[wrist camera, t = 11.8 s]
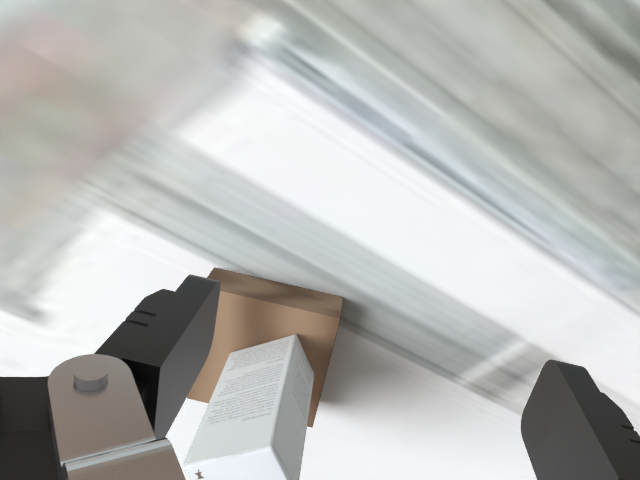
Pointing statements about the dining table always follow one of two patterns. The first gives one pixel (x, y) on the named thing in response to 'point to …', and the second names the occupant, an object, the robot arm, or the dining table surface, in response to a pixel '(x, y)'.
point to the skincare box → (255, 416)
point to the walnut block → (269, 326)
